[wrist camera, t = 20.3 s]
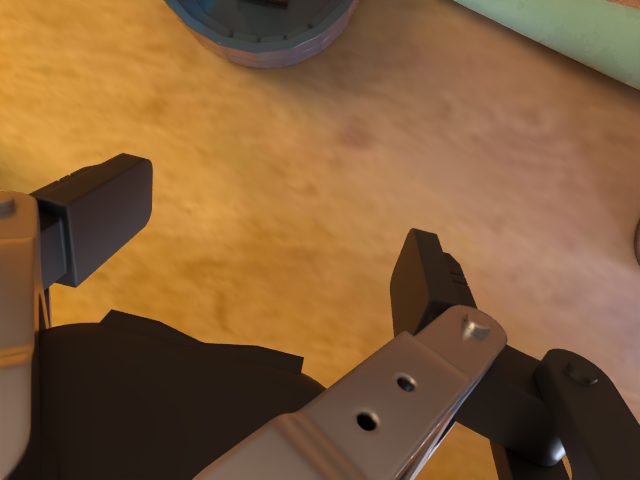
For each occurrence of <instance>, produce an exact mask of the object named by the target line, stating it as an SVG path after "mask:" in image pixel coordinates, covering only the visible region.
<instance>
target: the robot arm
mask: <svg viewBox="0 0 640 480" xmlns="http://www.w3.org/2000/svg"><path fill="white" fill-rule="evenodd" d="M152 178H153V168H152V163H151V161H150V160H149V159H145V158H141V157H137V156H133V155H129V154H125V153H121V154H119V155H117V156H115V157H113V158H111V159H109V160H107V161H105V162H103V163H101V164H98V165H93V166H89V167H84V168H82V169H79V170H77V171H75V172H73V173H71V174H70V176H69V175H67V176H65V177H63V178H61V179H60V180H59V181H55V182H53V183H51V184H49V185H47V186H45V187H43V188H40V189H38V190H36V191H34V192H32V193H30V194H25V193H21V192H15V191H0V480H414V478H415V477H416V476H417V474H418V473H419V471H420V470H421V469H422V467H423V466H424V465H425V463H426V462H427V461H428V459H429V458H430V457H431V455H432V454H433V453H434V451H435V450H436V449H437V447H438V446H439V445H440V443H441V442H442V441H443V439H444V438H445V437H446V435H447V434H448V433H449V431H450V430H451V429H452V427H453V426H454V425H455V423H456V422H458V423H460V424H462V425H464V426H466V427H468V428H469V429H471V430H473V431H475V432H477V433H479V434H481V435H482V436H484V437H486V438H488V439H489V440H490V445H491V449H492V453H493V457H494V461H495V466H496V470H497V474H498V478H499V480H570V479H569V476H568V474H567V471H566V469H565V466H564V464H563V461H562V459H561V458H562V457H563V456H564V455H565V454H566V455H567V458H568V460H569V463H570V466H571V470H572V480H640V425H639V423H638V422H637V420H636V419H635V417H634V416H633V414H632V412H631V411H630V409H629V408H628V406H627V405H626V403H625V401H624V400H623V398H622V397H621V395H620V394H619V392H618V390H617V389H616V387H615V386H614V384H613V383H612V381H611V380H610V379H609V377H608V376H607V375H606V374H605V373H604V372H603V371H602V370H601V369H599V368H598V367H597V366H596V365H594V364H593V363H592V362H590V361H589V360H587V359H585V358H584V357H582V356H580V355H578V354H576V353H573V352H571V351H568V350H564V349H551V350H549V351H548V352H547V353H546V355H545V356H544V357H543V359H542V360H541V361H539V360H537V359H535V358H533V357H531V356H529V355H527V354H524V353H522V352H520V351H518V350H516V349H514V348H512V347H510V346H508V345H507V344H506V343H507V335H506V332H505V331H504V329H503V328H502V327H501V325H500V324H499V323H498V322H497V321H496V320H494V319H493V318H492V317H490V316H489V315H488V314H486V313H484V312H482V311H480V310H478V309H477V306H476V304H475V301H474V299H473V296H472V294H471V291H470V289H469V286H467V285H468V284H467V281H466V279H465V277H464V274H463V271H462V269H461V266H460V264H459V263H458V262H457V261H456V260H455V259H454V258H453V257H452V256H451V255H450V254H449V253H445V252H443V251H442V248H441V245H440V242H439V239H438V236H437V234H434V233H430V232H426V231H422V230H418V229H415V228H412V229H411V230H410V231H409V233H408V235H407V237H406V240H405V242H404V245H403V248H402V250H401V253H400V255H399V258H398V260H397V263H396V265H395V268H394V271H393V274H392V277H391V282H390V296H391V307H392V318H393V329H394V338H393V339H392V340H391V341H390V342H388V343H387V344H386V345H384V346H383V347H382V348H380V349H379V350H378V351H376V352H375V353H374V354H372V355H371V356H370V357H368V358H367V359H366V360H364V361H363V362H362V363H361V364H359V365H358V366H357V367H355V368H354V369H353V370H351V371H350V372H349V373H347V374H346V375H345V376H343V377H342V378H341V379H339V380H338V381H337V382H336V383H334V384H333V385H332V386H330V387H329V388H328V389H326V388H325V387H324V386H322V385H321V384H320V383H319V382H317V381H315V380H314V379H312V378H311V377H309V376H307V375H305V374H303V373H302V372H301V370H302V365H303V360H304V357H300V356H296V355H292V354H288V353H284V352H280V351H276V350H272V349H268V348H264V347H260V346H253V345H233V344H213V343H204V342H201V341H198V340H196V339H194V338H192V337H190V336H188V335H186V334H184V333H182V332H180V331H178V330H176V329H174V328H172V327H170V326H168V325H166V324H164V323H162V322H160V321H156V320H152V319H148V318H144V317H140V316H136V315H132V314H128V313H124V312H120V311H116V310H112V309H111V311H110V312H109V313H108V314H107V315H106V316H105V317H104V318H103V319H102V320H101V322H100V323H76V324H67V325H62V326H56V327H52V315H51V296H50V289H49V286H51V285H52V284H53V283H54V282H55V283H59V284H63V285H67V286H71V287H75V288H76V287H77V286H79V285H80V284H81V283H82V282H83V281H84V280H85V279H86V278H88V277H89V276H90V275H91V274H92V273H93V272H94V271H95V270H97V269H98V268H99V267H100V266H101V265H102V264H103V263H104V262H106V261H107V260H108V259H109V258H110V257H111V256H112V255H113V254H115V253H116V252H117V251H118V250H119V249H120V248H121V247H122V246H124V245H125V244H126V243H127V242H128V241H129V240H130V239H131V238H133V237H134V236H135V235H136V234H137V233H138V232H139V231H140V230H142V229H143V228H144V227H145V226H146V224H147V223H148V221H149V218H150V216H151V211H152ZM634 249H635V254H636V258H637V260H638V263H639V265H640V221H639V223H638V225H637V228H636V232H635V238H634Z"/></svg>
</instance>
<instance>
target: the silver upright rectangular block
mask: <svg viewBox="0 0 640 480" xmlns="http://www.w3.org/2000/svg"><path fill="white" fill-rule="evenodd" d="M259 1H264V2H269V3H273V4H278V5H282V6H287V3H288V0H259Z"/></svg>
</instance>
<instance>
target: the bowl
mask: <svg viewBox="0 0 640 480" xmlns="http://www.w3.org/2000/svg"><path fill="white" fill-rule="evenodd" d="M359 1H360V0H288V3H287V6H282V5H278V4H273V3H269V2H264V1H259V0H164V2H165V3H166V4H167V5H168V6H169V8H170V9H171V10H172V11H173V13H174V14H175V15H176V16H177V18H178V19H179V20H180V21H181V22H182V23H183V25H184V26H185V27H186V28H187V29H188V30H189V31H190V32H191V33H192V35H193V36H194V37H195V38H196V39H197V40H198V41H199V42H200V44H202V45H203V46H204V47H206V48H208V49H209V50H211V51H213V52H214V53H216V54H218V55H219V56H221V57H223V58H224V59H226V60H228V61H229V62H232V63H237V64H241V65H245V66H250V67H254V68H258V69H265V68H275V67H284V66H291V65H295V64H297V63H299V62H301V61H303V60H305V59H307V58H310V57H312V56H314V55H316V54H318V53H320V52H322V51H323V50H324V49H325V48H326V47H327V46H328V45H329V44H330V43H331V42H332V41H333V40H334V39H335V38H336V37H337V36H338V35H339V34H340V33H341V32H343V30H344V29H345V27H346V25H347V23H348V22H349V20H350V18H351V16H352V14H353V12H354V11H355V9H356V7H357V5H358V3H359Z"/></svg>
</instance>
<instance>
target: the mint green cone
mask: <svg viewBox="0 0 640 480" xmlns="http://www.w3.org/2000/svg"><path fill="white" fill-rule="evenodd" d="M453 1H455V2H457V3H459V4H461V5H463V6H465V7H467V8H469V9H471V10H473V11H475V12H477V13H479V14H481V15H483V16H485V17H488V18H490V19H492V20H494V21H496V22H498V23H500V24H502V25H504V26H506V27H508V28H510V29H512V30H514V31H516V32H518V33H520V34H522V35H524V36H526V37H528V38H530V39H532V40H534V41H537V42H539V43H541V44H543V45H545V46H547V47H549V48H551V49H553V50H555V51H557V52H559V53H561V54H563V55H565V56H567V57H570V58H572V59H574V60H576V61H578V62H580V63H582V64H584V65H586V66H588V67H590V68H593V69H595V70H597V71H599V72H601V73H603V74H605V75H607V76H609V77H612V78H614V79H616V80H618V81H620V82H622V83H624V84H627V85H629V86H631V87H633V88H636V89H638V90H640V9H639V8H635V7H631V6H627V5H623V4H619V3H615V2H612V1H608V0H453Z"/></svg>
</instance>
